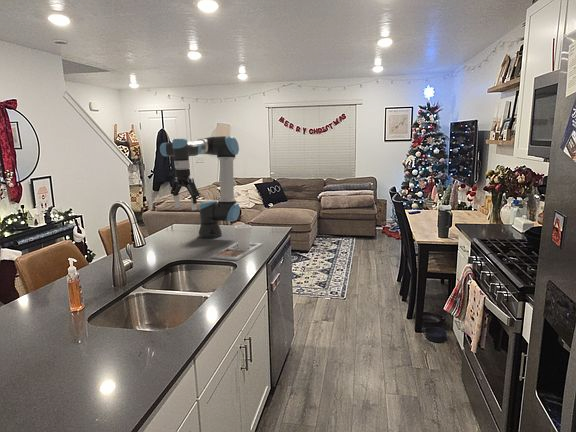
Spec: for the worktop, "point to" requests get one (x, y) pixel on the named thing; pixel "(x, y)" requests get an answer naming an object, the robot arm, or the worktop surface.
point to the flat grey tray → (235, 252)
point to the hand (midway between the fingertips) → (185, 208)
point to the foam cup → (243, 236)
